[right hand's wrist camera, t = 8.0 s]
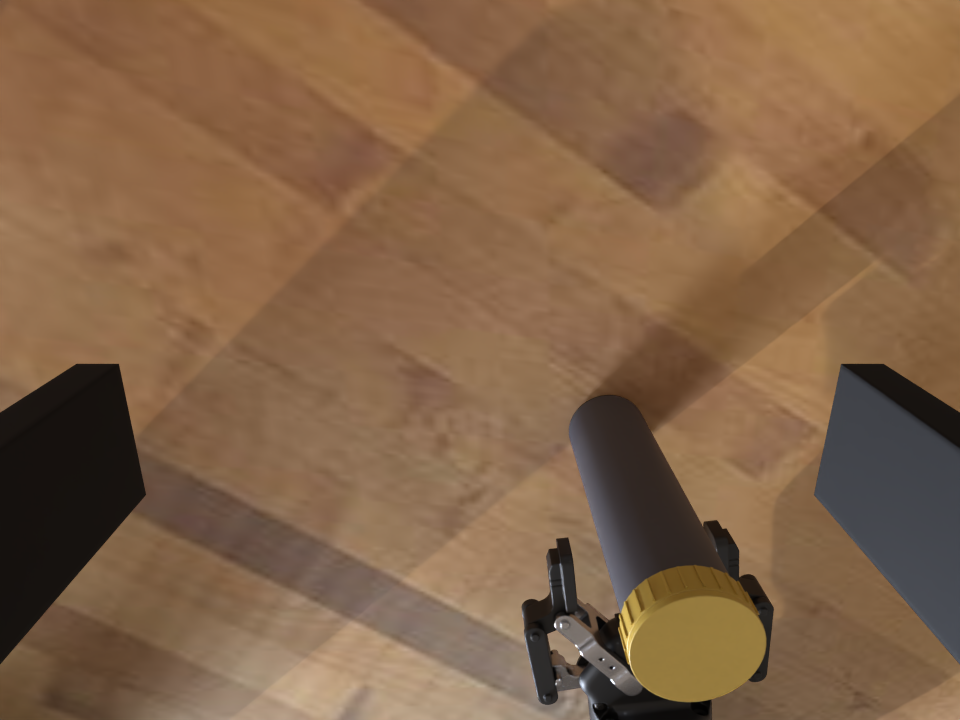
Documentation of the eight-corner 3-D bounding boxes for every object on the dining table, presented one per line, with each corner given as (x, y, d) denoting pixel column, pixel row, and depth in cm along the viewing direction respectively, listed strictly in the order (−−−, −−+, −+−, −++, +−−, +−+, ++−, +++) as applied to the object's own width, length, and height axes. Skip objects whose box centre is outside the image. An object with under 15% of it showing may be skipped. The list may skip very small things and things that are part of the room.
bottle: (643, 459, 43) (753, 684, 26) (570, 465, 43) (632, 693, 26) (643, 391, 41) (760, 587, 25) (567, 398, 42) (631, 597, 25)
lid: (747, 663, 28) (764, 698, 26) (618, 673, 28) (627, 708, 26) (754, 558, 26) (773, 588, 24) (616, 569, 26) (626, 600, 24)
